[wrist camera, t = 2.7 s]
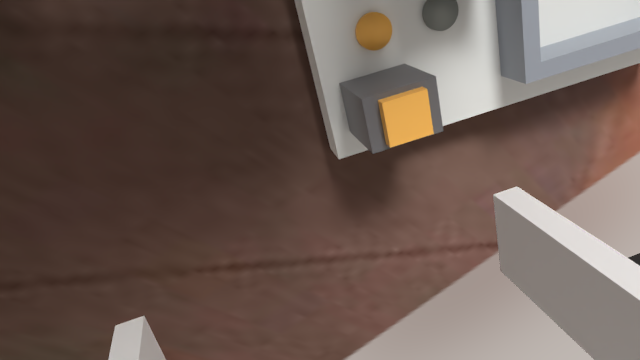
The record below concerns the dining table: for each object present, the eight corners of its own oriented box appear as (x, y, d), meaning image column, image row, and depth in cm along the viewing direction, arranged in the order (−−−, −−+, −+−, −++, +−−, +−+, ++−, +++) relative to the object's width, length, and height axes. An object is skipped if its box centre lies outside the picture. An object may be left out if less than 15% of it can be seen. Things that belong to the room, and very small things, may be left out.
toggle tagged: (350, 132, 29) (376, 157, 25) (339, 83, 28) (365, 101, 24) (412, 112, 30) (448, 134, 26) (404, 63, 29) (441, 78, 25)
